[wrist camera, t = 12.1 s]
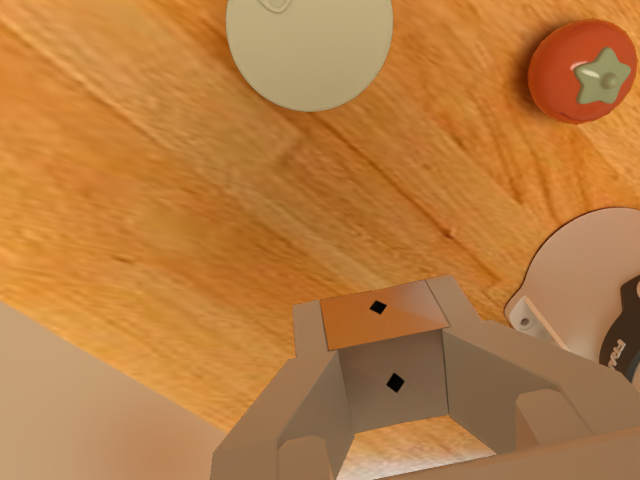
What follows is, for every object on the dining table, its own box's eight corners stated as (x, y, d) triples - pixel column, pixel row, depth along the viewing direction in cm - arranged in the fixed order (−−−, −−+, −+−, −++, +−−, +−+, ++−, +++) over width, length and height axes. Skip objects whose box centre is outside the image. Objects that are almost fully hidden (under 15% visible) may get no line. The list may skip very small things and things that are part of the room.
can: (285, -88, 36) (293, -117, 26) (386, 3, 39) (431, 11, 29) (210, 28, 39) (189, 45, 28) (310, 104, 42) (325, 146, 31)
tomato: (504, 113, 44) (550, 138, 37) (519, 15, 41) (573, 22, 33) (590, 112, 44) (652, 137, 37) (611, 15, 41) (684, 22, 34)
